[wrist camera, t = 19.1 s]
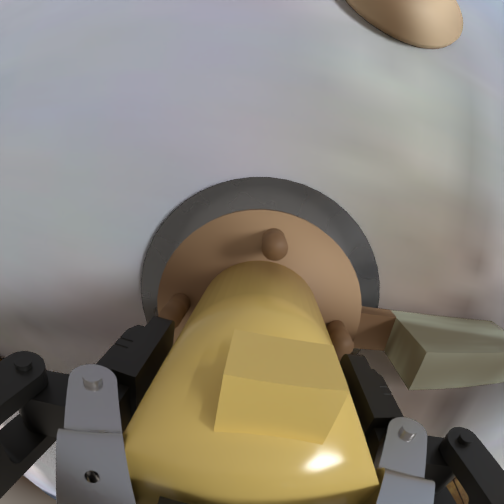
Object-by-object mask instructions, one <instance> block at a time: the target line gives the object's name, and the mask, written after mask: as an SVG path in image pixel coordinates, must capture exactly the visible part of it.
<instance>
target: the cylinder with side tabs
mask: <svg viewBox="0 0 504 504" xmlns="http://www.w3.org/2000/svg"><path fill="white" fill-rule="evenodd" d="M123 441H124V448H125V449H124V450H125V454H126V460H127V465H128V470H129V475H130V480H131V485H132V489H133V494H134V498H135V502H136V504H157V503H158V500H159V497H160V496H161V497H165V498H168V499H172V500H176V501H180V502H184V503H188V504H362V503H363V502H364V501H365V500H367V499H368V497H369V496H370V495H371V494H372V493H373V492H374V491H375V490H376V489H377V488H378V487H379V486H380V485H379V481H378V478H377V475H376V471H375V468H374V465H373V462H372V458H371V455H370V452H369V449H368V446H367V442H366V439H365V436H364V433H363V430H362V427H361V424H360V421H359V418H358V415H357V412H356V409H355V406H354V403H353V400H352V397H351V394H350V391H349V388H348V385H347V382H346V379H345V377H344V374H343V371H342V368H341V365H340V363H339V360H338V357H337V354H336V352H335V349H334V346H333V344H332V341H331V339H330V336H329V333H328V331H327V328H326V325H325V323H324V320H323V317H322V315H321V312H320V310H319V307H318V305H317V302H316V299H315V297H314V294H313V292H312V290H311V289H310V287H309V286H308V284H307V283H306V282H305V280H304V279H303V278H302V277H301V276H300V275H298V274H297V273H296V272H294V271H293V270H291V269H289V268H287V267H286V266H283V265H281V264H278V263H274V262H269V261H247V262H243V263H239V264H236V265H233V266H231V267H229V268H227V269H226V270H224V271H222V272H221V273H220V274H219V275H217V276H216V277H215V278H214V279H213V280H212V282H211V283H210V284H209V286H208V287H207V289H206V290H205V292H204V294H203V295H202V297H201V299H200V300H199V302H198V304H197V306H196V307H195V309H194V311H193V312H192V314H191V316H190V317H189V319H188V321H187V322H186V324H185V326H184V328H183V329H182V331H181V333H180V334H179V336H178V338H177V340H176V341H175V343H174V345H173V346H172V348H171V350H170V352H169V353H168V355H167V357H166V358H165V360H164V362H163V364H162V365H161V367H160V369H159V371H158V372H157V374H156V376H155V378H154V379H153V381H152V383H151V385H150V386H149V388H148V390H147V392H146V393H145V395H144V397H143V399H142V400H141V402H140V404H139V406H138V407H137V409H136V411H135V413H134V415H133V416H132V418H131V420H130V422H129V424H128V425H127V427H126V429H125V431H124V433H123Z"/></svg>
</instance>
